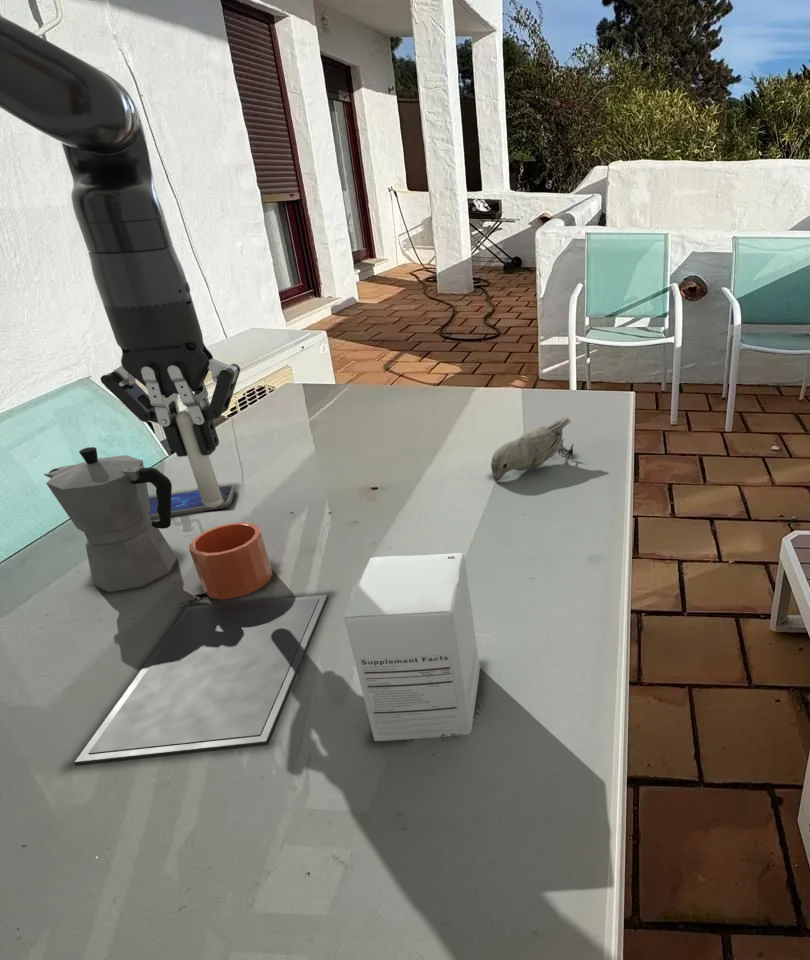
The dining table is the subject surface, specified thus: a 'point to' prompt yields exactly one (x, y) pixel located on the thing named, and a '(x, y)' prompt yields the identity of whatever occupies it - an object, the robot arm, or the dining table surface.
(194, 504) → the smartphone
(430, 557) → the rectangular carton
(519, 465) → the decorative bird
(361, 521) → the dining table surface
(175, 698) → the tablet
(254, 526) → the pen pot
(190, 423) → the off-white long cylinder
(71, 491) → the coffeepot
